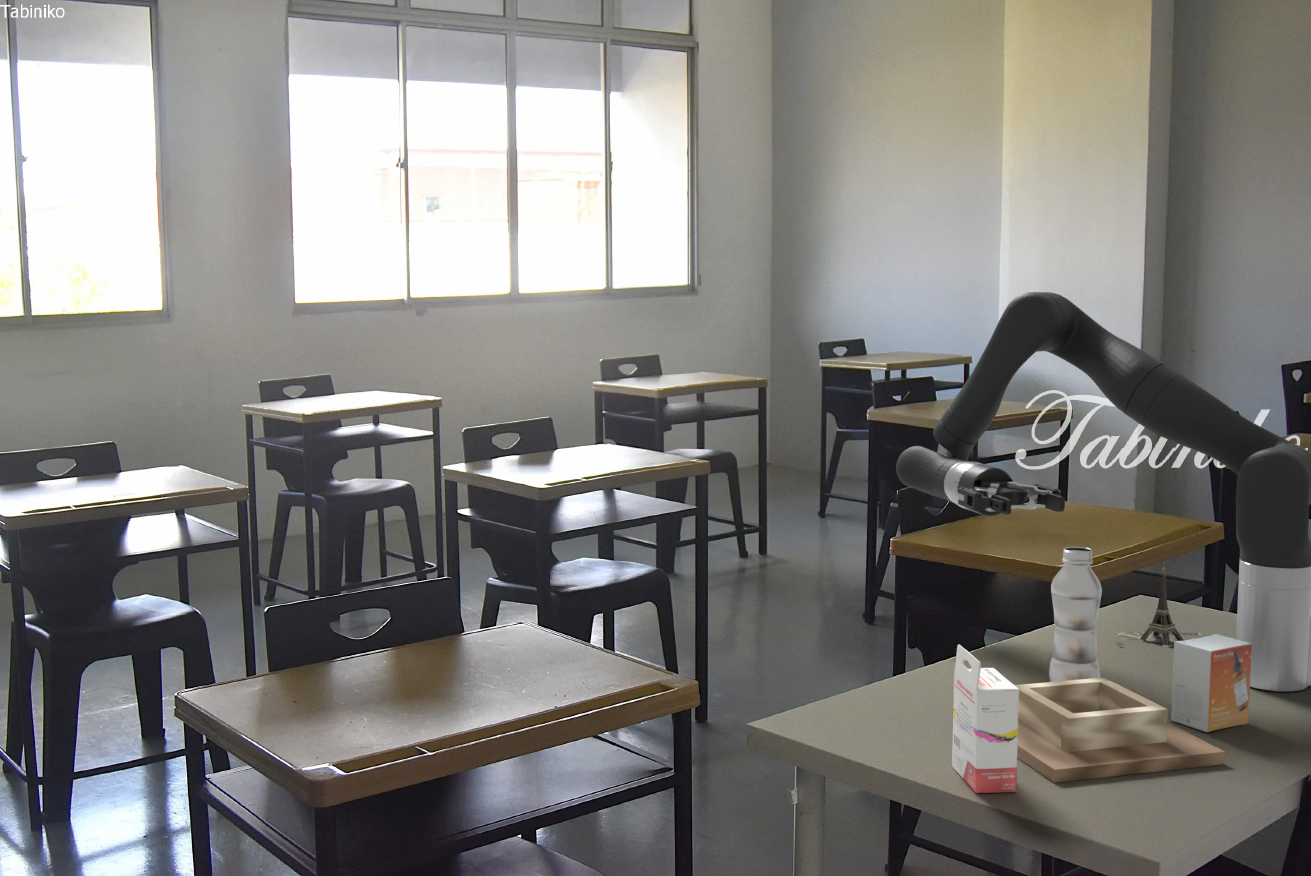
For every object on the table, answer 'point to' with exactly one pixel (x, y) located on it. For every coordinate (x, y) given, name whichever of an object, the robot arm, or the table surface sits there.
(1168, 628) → the eiffel tower figurine
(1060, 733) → the socket board
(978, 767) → the ink cartridge box
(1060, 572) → the silver metal bottle
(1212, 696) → the small box
